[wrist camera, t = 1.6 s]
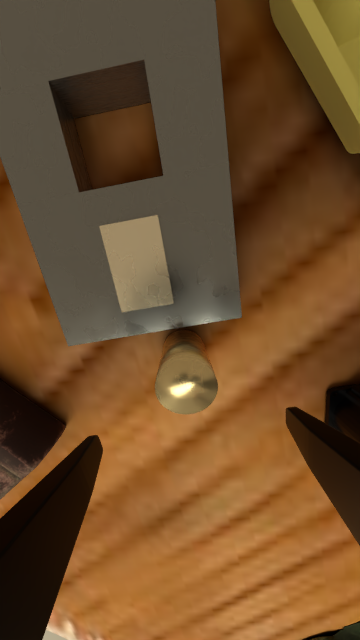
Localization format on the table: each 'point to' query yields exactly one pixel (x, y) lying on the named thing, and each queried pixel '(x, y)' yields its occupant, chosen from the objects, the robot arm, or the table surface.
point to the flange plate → (129, 198)
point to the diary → (23, 436)
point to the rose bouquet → (344, 634)
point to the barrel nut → (185, 374)
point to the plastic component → (327, 57)
